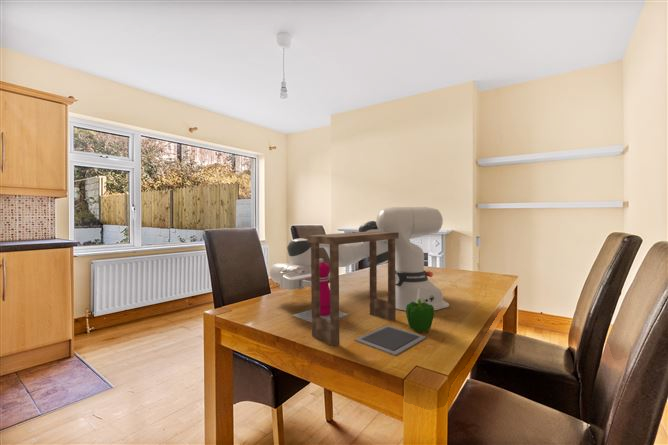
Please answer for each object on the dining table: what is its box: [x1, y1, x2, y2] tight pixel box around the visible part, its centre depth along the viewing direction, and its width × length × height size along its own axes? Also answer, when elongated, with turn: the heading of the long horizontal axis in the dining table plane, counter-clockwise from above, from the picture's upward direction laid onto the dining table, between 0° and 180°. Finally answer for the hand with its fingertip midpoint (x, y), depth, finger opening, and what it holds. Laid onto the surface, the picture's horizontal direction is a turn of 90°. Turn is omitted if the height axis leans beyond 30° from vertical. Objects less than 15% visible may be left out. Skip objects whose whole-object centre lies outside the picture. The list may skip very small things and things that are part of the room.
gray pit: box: [353, 324, 427, 357], centre depth 88 cm, size 14×16×1 cm
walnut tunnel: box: [306, 231, 399, 347], centre depth 97 cm, size 12×30×30 cm, turn 135°
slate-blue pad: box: [292, 308, 349, 324], centre depth 110 cm, size 14×14×1 cm
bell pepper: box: [405, 299, 435, 333], centre depth 95 cm, size 8×8×10 cm
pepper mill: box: [319, 257, 330, 316], centre depth 110 cm, size 7×7×20 cm
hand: (322, 282), depth 109 cm, fingers open, 7 cm apart
